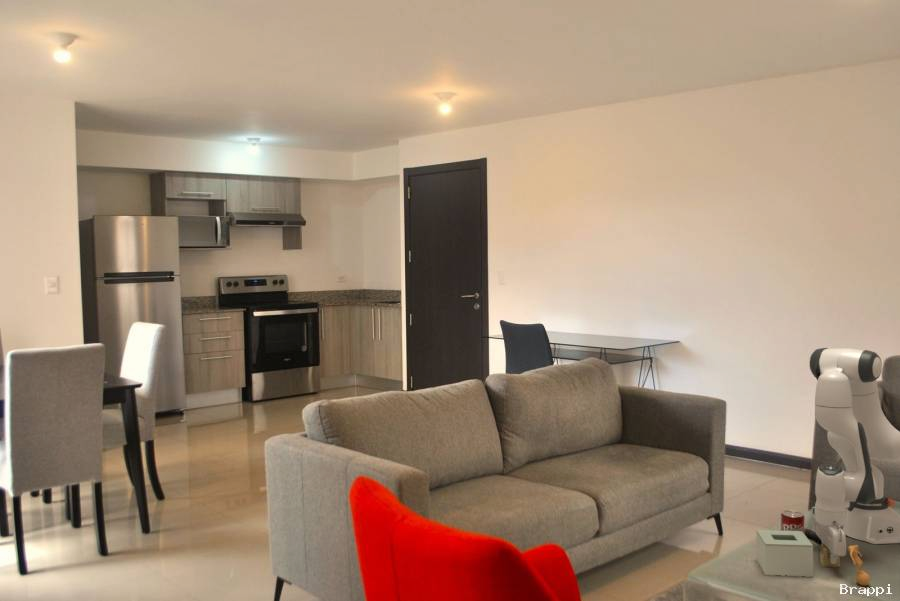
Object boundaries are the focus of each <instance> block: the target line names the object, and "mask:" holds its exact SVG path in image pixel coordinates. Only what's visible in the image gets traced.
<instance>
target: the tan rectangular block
mask: <svg viewBox="0 0 900 601" xmlns="http://www.w3.org/2000/svg"><path fill="white" fill-rule="evenodd" d="M819 549H820V553H819V555H820V557H819V558H820V561H819V562H820V564H821V566H822V565H823V566H822V567H824V566H833V567H832V568H840V567H841V556H838V557H837V563H836V564H832V563H831V562H830V561H829V556H830V554H831V553H830V550H829V549H828V548H827V546H826V545H822V544H820V548H819Z"/></svg>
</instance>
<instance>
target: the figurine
mask: <svg viewBox="0 0 900 601" xmlns="http://www.w3.org/2000/svg"><path fill="white" fill-rule="evenodd" d="M858 549H859V545H858V544H854V545H849V546H848V549H847V550H848V552H849V555H850V559H851V560H852V562H853V565H854V566H856V570H857V571H858V572H857V573H856V574H855V576H854V577H855V582H856V583H857V584H859V585H860V586H864V587H865V586H867V585H869V584H870V582H871V577H870V575H869V574H868V573H867V572H865V571H864V570H863V569H862V568H861V567H862V565H863V564H864V562H863V560H861V558H862V557H863V555H862V553H860V551H859V550H858ZM858 554H859V556H860V557H861V558H860V557H859V556H858Z"/></svg>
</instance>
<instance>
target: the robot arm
mask: <svg viewBox="0 0 900 601" xmlns="http://www.w3.org/2000/svg"><path fill="white" fill-rule="evenodd" d="M882 369H883V365H882V359H881V357H880V355H879V354H878V353H877V352H875V351H871V350H868V349H865V350H864V349H863V350H862V349H857V348H848V347H844V348H838V347H837V348H828V347H822V348H821V347H820V348H817V349H815V350H814V351H813V352H812V353H811V355H810V357H809V370H810V372H811V374H812V375H813V377H814V378H815V379H816V381H817V382H816V387H815V395H814V415H815V419H816V422H817V424H818V425H819V426H820V427H821V428H822V429H824V430H825V431H827V441H828V444H829V445H830V447H831V448H832V449H834V450H835V451H836V452H837V453H838V455H839V456H840V458H841V460H842V462H843V464H844V467H845V469H846V470H844V469H843V467H841V466H839V465H838V464H831V463H824V464H821V465H819V466H818V467H817V470H816V472H815V473H814V474H812V493H813V494H814V495H815V497H816V501H815V504H814V506H812V507H811V508H812V509H811V513H812V514H813V525H814V527H813V528H814V532H815V535H817V537H818V538H819V539H820V541H821V545H826V546H827V548H828V549H829V550H830V553H831V554H830V556H829V561H830V562H831V563H832V564H836V563H837V557H838V556H840V557H845V556H846V555H847V540H846V537H847V536H848V537H850V538H851V539H856V540H858V541H864V542H867V543H870V544H872V545H882V544H884V545H885V544H900V514H899V513H898V512H896V511H895V510H894V509H893V508H891V507H894V506H895V504H896V502H895V501H894V500H893V499H892V498H888V497H887V496H886V495H884V482H885V481H884V480H885V479H884V475H883V473H882V471H881V470H880V469H879V468H878V467H876V466H875V465H873V463H872V461H871V458H872V459H878V460H883V461H897V460H900V431H899V430H898V429H896V428H895V426H893V425H892V424H891V422H890V421H889V420H888V419H887V417H886V416H885V414H884V411H883V410H882V407H881V401H880V396H879V389H878V388H879V387H878V381H877V380H878V379H879V378H880V376H881V374H882Z"/></svg>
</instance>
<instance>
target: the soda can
mask: <svg viewBox="0 0 900 601" xmlns="http://www.w3.org/2000/svg"><path fill="white" fill-rule="evenodd" d="M780 531H802V532H803V533H804V534H805V515H804V514H803V512H801V511H797V510H793V509H791V510H789V509H787V510H783V511H781V513H780Z"/></svg>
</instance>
